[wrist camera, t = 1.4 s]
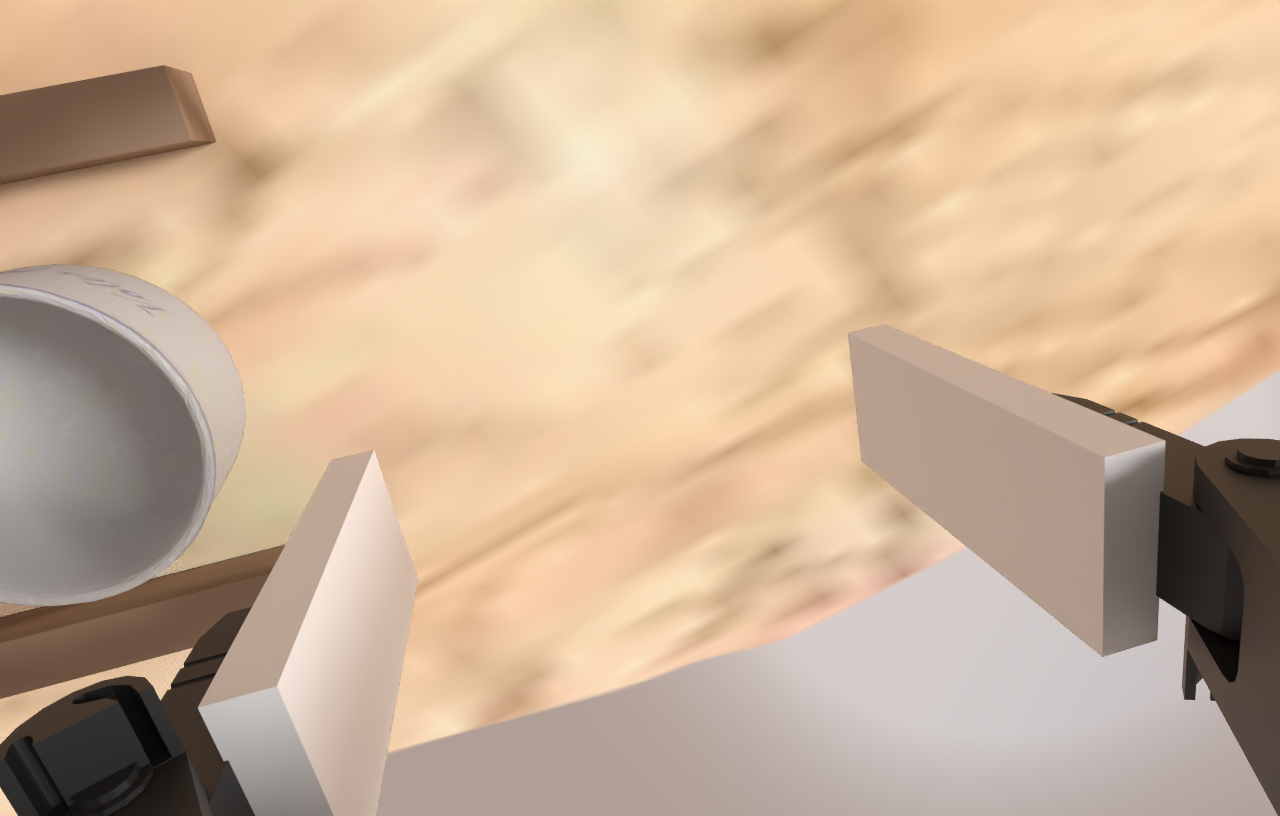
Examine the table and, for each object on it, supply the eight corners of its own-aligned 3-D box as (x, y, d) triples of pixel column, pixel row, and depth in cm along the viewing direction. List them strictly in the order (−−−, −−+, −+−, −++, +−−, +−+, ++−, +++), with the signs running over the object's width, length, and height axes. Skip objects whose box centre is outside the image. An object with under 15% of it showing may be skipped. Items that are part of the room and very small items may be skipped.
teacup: (222, 228, 30) (131, 250, 22) (309, 479, 33) (255, 571, 26) (-171, 300, 28) (-413, 350, 21) (-35, 556, 32) (-199, 678, 24)
